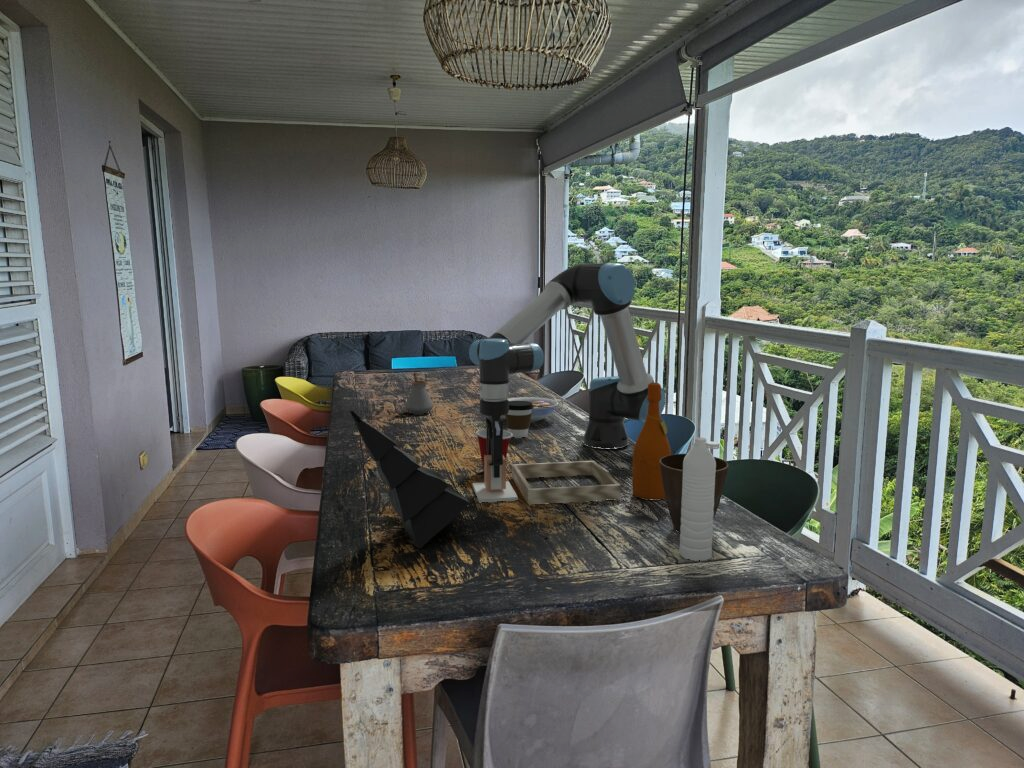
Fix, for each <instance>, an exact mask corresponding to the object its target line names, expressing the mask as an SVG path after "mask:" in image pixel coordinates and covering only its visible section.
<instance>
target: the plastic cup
mask: <svg viewBox="0 0 1024 768" xmlns="http://www.w3.org/2000/svg"><path fill="white" fill-rule="evenodd" d="M475 435H476V437H477V441H478V446H479V453H480V460H481V462H482V463H481V464H482V470H483V471H484V455H487V453H486V451H487V433H486V428H481V429H478V430H476V431H475ZM512 436H513V434H512V433H511V432H508V430H504V429H503V456H504V457H505V459H506V460H507V454H508V450H509V449H508V448H509V444H510V442H511V438H512Z"/></svg>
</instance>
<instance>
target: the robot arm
mask: <svg viewBox="0 0 1024 768" xmlns="http://www.w3.org/2000/svg"><path fill="white" fill-rule="evenodd" d="M634 276H635V275H634V274H633V272H632V271H631V269H630V268H629V267H627V266H626V265H624V264H622V263H616V262H606V263H605V262H604V263H602V262H601V263H600V262H599V263H594V262H593V263H586V262H585V263H583V262H581V263H579V264H574V265H573V266H570V267H567V268H566V269H564V270H563V271H562V272H560V273H558V274H557V275H556V276H554V277H553V278H552V279H551V280H549V281H548V282H547V283H546V284H545V285H544V290H543V291H542V292H540V293H539V294H538V295H537V296H536V297H535V298H534V299H533V300H531V301H529V303H528V304H526V305H525V306H524V307H523V308H522V309H521V310H519V311H518V312H516V314H515V315H514V316H513V317H511V318H510V319H509V320H508V321H507V322H506V323H505V324H503V325H502V326H501V327H500V328H498V329H497V330H496V331H495V332H494V333H492V335H490V336H489V337H488V338H484V339H477V340H475V341H473V342H472V343H471V344H470V346H469V349H468V350H469V352H468V355H469V359H470V361H471V362H472V363H473V364H474V365H476V366H478V367H479V368H478V370H479V385H478V386H477V387H476V388H477V390H478V391H479V397H480V398H481V399H480V400H479V413H480V414H481V415H483V416H485V417H486V418H485V425H486V428H485V429H486V433H487V451H486V453H487V455H491V458H492V462H491V463H489V466H491V490H492V489H502V474H501V465H503V430H504V422H503V421H502V419H501V416H505V415H506V414H508V412H509V401H508V399H509V398H510V393H509V392H510V382H509V381H510V375H512V374H520V373H531V372H534V371H537V370H539V369H540V368H541V367H542V365H544V361H545V360H544V359H545V357H544V356H545V354H544V351H543V349H542V348H541V347H540V345H539V344H537V343H535V342H532V343H530V342H526V341H527V340H528V339H529V338H530V337H532V335H534V333H536V332H537V331H538V330H539V329H540V328H541V327H543V326H544V325H545V324H546V323H547V322H549V320H551V318H552V317H554V316H555V315H556V314H557V313H559V312H560V311H561V310H566V309H568V308H569V307H570V306H571V305H574V304H578V303H589V304H590V305H591V307H592V311H593V313H594V314H595V316H599V317H600V319H601V321H602V326H603V329H604V333H605V336H606V338H607V339H606V340H607V342H608V345H609V348H610V353H611V356H612V359H613V362H614V365H615V368H616V369H615V370H616V372H617V376H616V375H615V376H602V377H595V378H593V379H591V380H590V382H589V390H588V424H587V426H586V429H585V432H584V435H583V441H582V442H583V443H584V444H586V445H588V446H593V447H601V448H614V447H622V446H625V445H627V444H628V445H629V437H628V436H629V435H628V433H627V429H626V425H625V421H624V420H625V419H629V420H634V421H639V422H642V423H643V422H644V423H645V421H646V418H647V413H648V405H649V401H648V399H647V396H648V384H649V383H655V380H654V377H653V375H652V374H650V373H648V372H647V370H646V367H645V363H644V358H643V356H642V353H641V350H640V346H639V342H638V338H637V335H636V331H635V327H634V323H633V319H632V316H631V313H630V310H629V308H630V306H631V304H632V300H633V298H634V297H635V293H636V290H635V288H636V280H635V277H634ZM524 342H526V343H524ZM666 397H667V394H666V391H665V389H664V388H663V387H661V400H660V401H659V414H660V416H661V415H662V413H663V411H664V408H665V406H666V401H667V398H666ZM584 444H583V445H584Z"/></svg>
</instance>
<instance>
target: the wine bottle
mask: <svg viewBox="0 0 1024 768" xmlns="http://www.w3.org/2000/svg"><path fill="white" fill-rule="evenodd" d="M661 388H662V385H661V384H660V383H658V382H654V383H649V384H648V396H647V399H648V401H649V405H648V413H647V418H646V421H644V424H643V426H642V428H641V430H640V431H639V434H638V436H637V438H636V441H635V444H634V447H633V453H632V472H631V473H632V483H631V484H632V493H633V495H634V496H635V497H636V496H637V497H636V498H638V497H640V498H639V499H641V498H644V499H662V500H664V499H663V498H665V494H664V489H663V484H662V477H661V469H660V459H661V458H662V457H665V456H668V455H672V450H671V446H670V442H669V439H668V437H667V434H668V433H669V432H668V427H667V425H666V422H665V420H664V419H662V421H661V415H660V414H659V401H660V400H661ZM644 499H643V500H644Z"/></svg>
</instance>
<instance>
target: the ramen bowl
mask: <svg viewBox="0 0 1024 768" xmlns="http://www.w3.org/2000/svg"><path fill="white" fill-rule="evenodd" d="M507 399H508V401H529V402H531V403H532V404H533V406H534V408H533V409H532V411H531V413H532V414H531V420H530V422H532V423H537V422H539V421H540V420H544V419H546V418H548V417H549V416H552V414H553V413H554V412H555V410H556V409H557V407H558V405H559V402H558V400H555V399H552V398H546V397H536V396H534V397H531V396H530V397H529V396H526V397H511V398H507ZM536 421H537V422H536Z"/></svg>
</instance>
